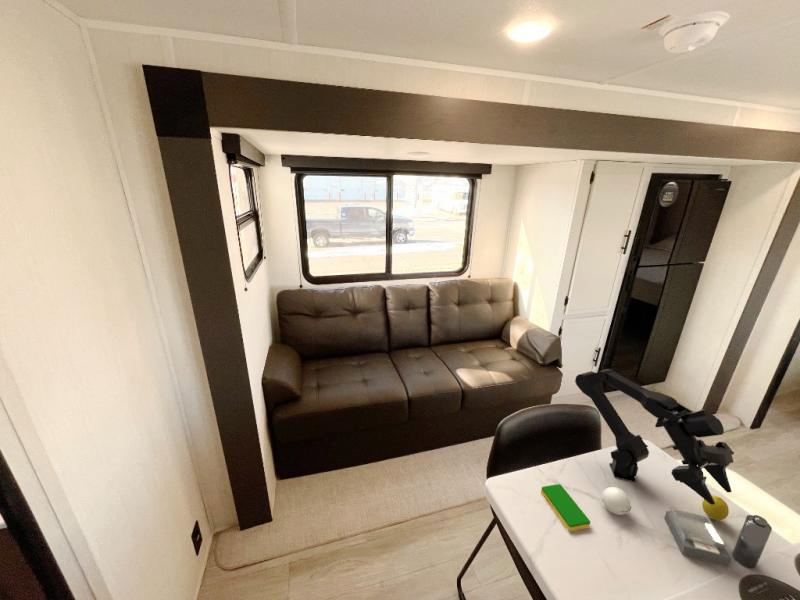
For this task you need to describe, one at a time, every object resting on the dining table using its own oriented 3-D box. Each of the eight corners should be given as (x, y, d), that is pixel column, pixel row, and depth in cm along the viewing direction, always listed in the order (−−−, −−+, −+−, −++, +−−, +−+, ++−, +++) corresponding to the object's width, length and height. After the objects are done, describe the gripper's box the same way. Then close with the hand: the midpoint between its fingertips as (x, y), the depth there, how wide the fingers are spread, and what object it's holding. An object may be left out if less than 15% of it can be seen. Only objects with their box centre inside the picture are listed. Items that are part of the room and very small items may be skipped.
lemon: (729, 528, 93) (737, 507, 91) (707, 524, 94) (714, 503, 92) (715, 511, 98) (722, 491, 96) (694, 508, 99) (701, 488, 97)
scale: (682, 554, 86) (686, 541, 85) (664, 518, 96) (667, 506, 95) (728, 567, 83) (733, 553, 81) (704, 528, 93) (709, 515, 92)
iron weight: (738, 565, 83) (755, 524, 79) (728, 549, 87) (743, 509, 83) (760, 571, 82) (778, 530, 78) (748, 554, 86) (765, 514, 82)
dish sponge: (559, 489, 106) (560, 483, 106) (589, 528, 93) (591, 522, 93) (540, 492, 105) (541, 486, 105) (568, 532, 92) (569, 526, 91)
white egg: (613, 523, 94) (618, 504, 92) (594, 501, 101) (598, 483, 99) (641, 517, 96) (646, 498, 94) (620, 496, 103) (625, 478, 101)
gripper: (696, 445, 84) (739, 512, 77) (730, 426, 91) (772, 485, 85) (655, 450, 93) (691, 510, 86) (689, 432, 100) (725, 486, 94)
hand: (721, 498), depth 87 cm, fingers open, 9 cm apart
